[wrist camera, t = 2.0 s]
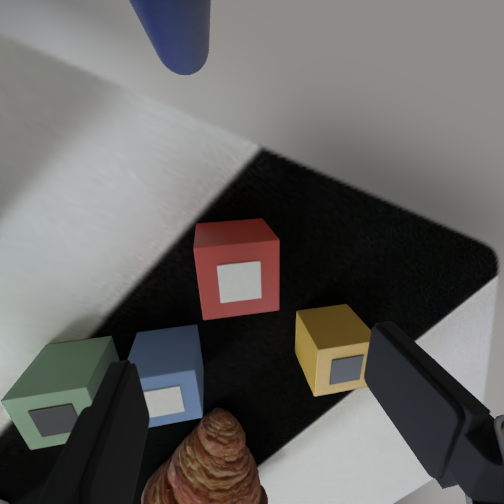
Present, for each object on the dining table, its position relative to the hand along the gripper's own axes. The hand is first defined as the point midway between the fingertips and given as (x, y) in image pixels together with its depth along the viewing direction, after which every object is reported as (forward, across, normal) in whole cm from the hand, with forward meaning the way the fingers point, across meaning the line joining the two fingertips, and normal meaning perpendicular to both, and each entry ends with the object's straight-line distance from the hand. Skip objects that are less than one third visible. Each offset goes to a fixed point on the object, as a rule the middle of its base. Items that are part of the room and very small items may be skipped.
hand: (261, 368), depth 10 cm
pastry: (+12, +5, +26) cm, 29 cm away
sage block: (+11, +13, +8) cm, 19 cm away
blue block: (+11, +6, +8) cm, 15 cm away
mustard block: (+11, -8, +8) cm, 16 cm away
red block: (+11, 0, -1) cm, 11 cm away
